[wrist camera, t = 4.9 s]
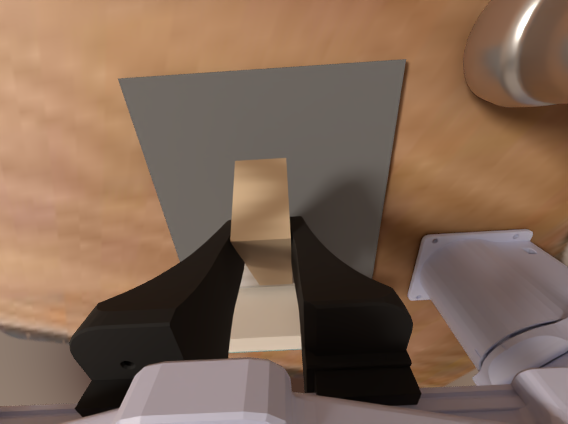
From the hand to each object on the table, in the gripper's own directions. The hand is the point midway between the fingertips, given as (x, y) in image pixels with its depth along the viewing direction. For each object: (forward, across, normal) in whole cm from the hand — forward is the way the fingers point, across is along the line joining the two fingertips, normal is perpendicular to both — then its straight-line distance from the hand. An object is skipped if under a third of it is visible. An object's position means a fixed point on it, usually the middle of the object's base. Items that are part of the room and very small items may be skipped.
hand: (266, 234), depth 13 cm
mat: (+8, 0, +5) cm, 9 cm away
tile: (+8, 0, +8) cm, 11 cm away
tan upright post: (+4, 0, +1) cm, 4 cm away
